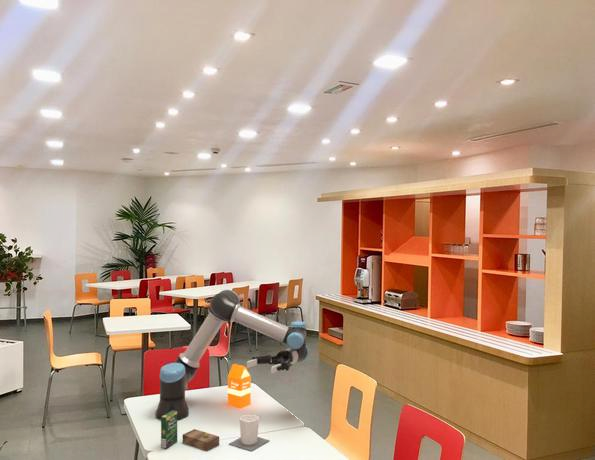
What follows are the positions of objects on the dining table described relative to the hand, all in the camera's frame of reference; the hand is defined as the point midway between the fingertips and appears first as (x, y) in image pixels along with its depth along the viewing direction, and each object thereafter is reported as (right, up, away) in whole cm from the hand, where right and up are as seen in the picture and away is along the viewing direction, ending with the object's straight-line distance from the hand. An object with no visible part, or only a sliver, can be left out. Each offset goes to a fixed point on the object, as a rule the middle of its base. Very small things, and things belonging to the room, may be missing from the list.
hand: (259, 367), depth 223 cm
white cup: (-3, -28, -13) cm, 31 cm away
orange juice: (-13, -28, +33) cm, 45 cm away
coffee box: (-36, -28, -15) cm, 48 cm away
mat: (-3, -28, -13) cm, 31 cm away
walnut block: (-23, -28, -14) cm, 39 cm away
